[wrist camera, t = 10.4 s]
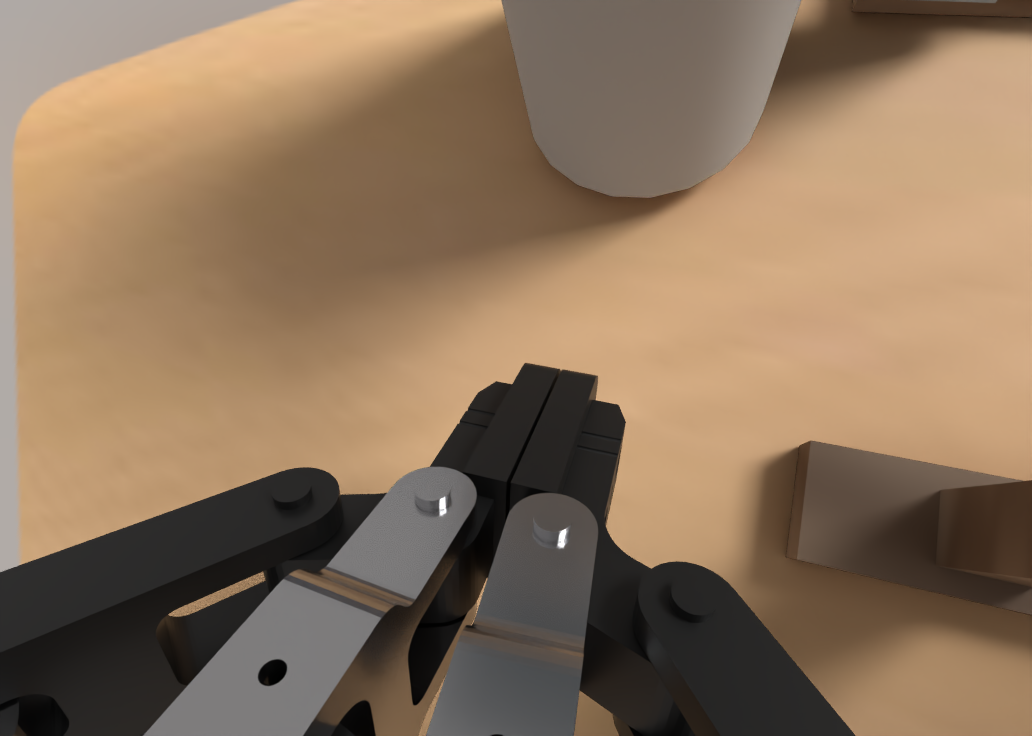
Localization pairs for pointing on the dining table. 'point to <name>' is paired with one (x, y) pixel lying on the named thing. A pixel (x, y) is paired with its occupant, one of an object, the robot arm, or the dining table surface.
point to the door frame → (916, 485)
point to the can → (646, 85)
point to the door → (980, 0)
